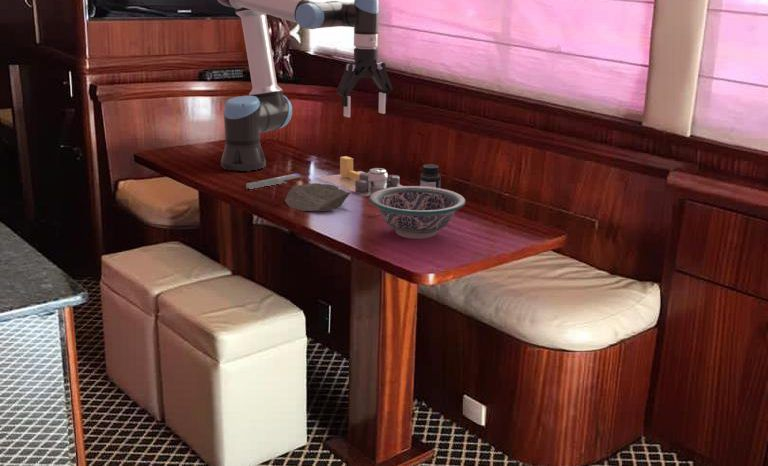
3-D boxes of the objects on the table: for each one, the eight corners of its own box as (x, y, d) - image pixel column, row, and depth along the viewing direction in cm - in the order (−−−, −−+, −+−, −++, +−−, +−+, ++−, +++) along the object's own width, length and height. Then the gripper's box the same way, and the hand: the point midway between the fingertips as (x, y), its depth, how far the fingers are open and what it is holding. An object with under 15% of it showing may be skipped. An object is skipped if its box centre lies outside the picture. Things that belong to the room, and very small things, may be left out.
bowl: (424, 255, 207) (425, 217, 204) (349, 232, 222) (349, 197, 219) (482, 232, 225) (484, 198, 222) (409, 213, 241) (410, 181, 238)
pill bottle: (428, 198, 256) (430, 162, 253) (444, 202, 252) (445, 166, 249) (414, 201, 252) (416, 165, 249) (430, 206, 248) (431, 169, 245)
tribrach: (317, 180, 274) (317, 158, 271) (360, 173, 283) (361, 152, 281) (364, 199, 254) (364, 175, 252) (408, 191, 264) (409, 168, 261)
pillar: (246, 183, 261) (296, 173, 275) (246, 190, 262) (296, 179, 276) (250, 184, 260) (300, 174, 273) (250, 191, 261) (301, 181, 274)
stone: (272, 197, 247) (308, 174, 255) (275, 210, 249) (311, 186, 258) (317, 212, 234) (354, 187, 243) (321, 225, 237) (357, 200, 245)
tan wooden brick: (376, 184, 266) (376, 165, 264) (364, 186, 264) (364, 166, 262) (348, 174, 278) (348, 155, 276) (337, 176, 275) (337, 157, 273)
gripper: (338, 50, 256) (338, 120, 262) (404, 47, 270) (402, 113, 276) (325, 47, 261) (325, 116, 268) (390, 44, 275) (389, 109, 282)
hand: (364, 115), depth 272 cm, fingers open, 13 cm apart
